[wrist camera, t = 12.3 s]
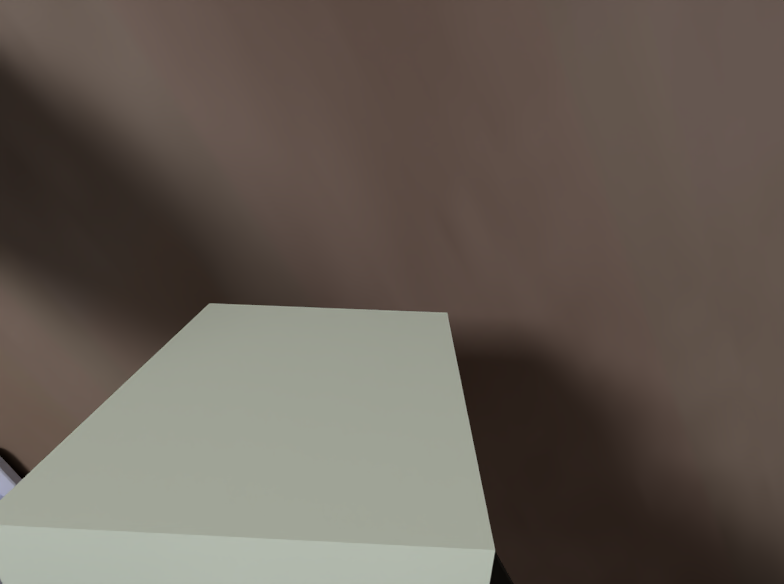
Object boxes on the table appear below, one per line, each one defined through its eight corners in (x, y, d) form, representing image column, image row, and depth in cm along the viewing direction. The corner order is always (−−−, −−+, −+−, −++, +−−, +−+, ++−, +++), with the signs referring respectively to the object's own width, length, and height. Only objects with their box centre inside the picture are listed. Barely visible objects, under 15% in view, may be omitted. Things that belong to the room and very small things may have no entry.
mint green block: (423, 592, 15) (434, 911, 9) (249, 583, 15) (144, 892, 9) (447, 312, 11) (495, 550, 5) (209, 303, 11) (-25, 524, 5)
